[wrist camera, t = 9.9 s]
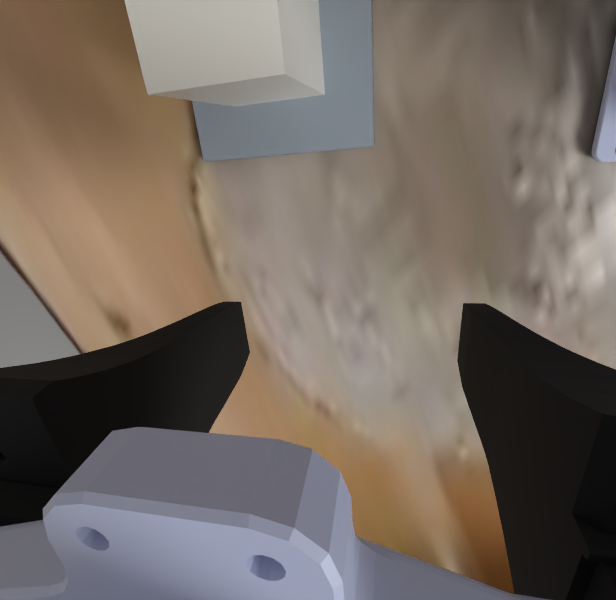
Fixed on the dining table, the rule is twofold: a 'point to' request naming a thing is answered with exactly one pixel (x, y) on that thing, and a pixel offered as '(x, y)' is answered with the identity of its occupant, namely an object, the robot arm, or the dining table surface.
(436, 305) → the dining table surface
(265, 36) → the cream block
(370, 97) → the slate mat
